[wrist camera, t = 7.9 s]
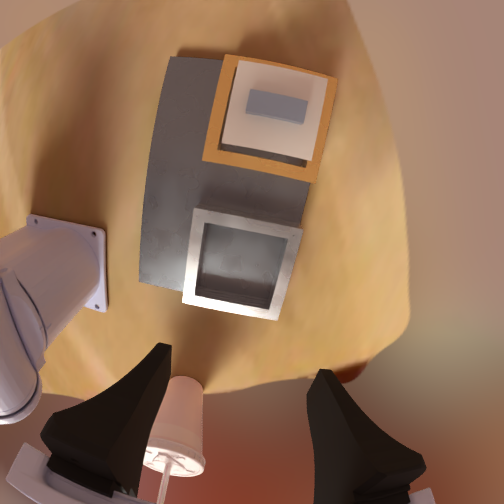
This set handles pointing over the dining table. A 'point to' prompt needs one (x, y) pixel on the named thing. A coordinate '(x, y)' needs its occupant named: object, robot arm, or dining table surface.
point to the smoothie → (177, 433)
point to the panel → (221, 196)
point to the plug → (275, 109)
